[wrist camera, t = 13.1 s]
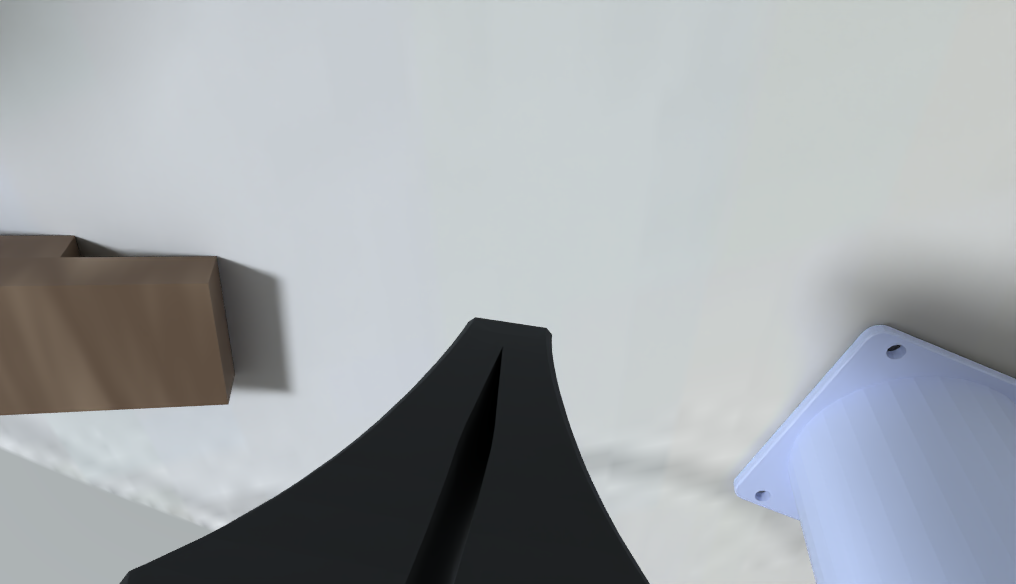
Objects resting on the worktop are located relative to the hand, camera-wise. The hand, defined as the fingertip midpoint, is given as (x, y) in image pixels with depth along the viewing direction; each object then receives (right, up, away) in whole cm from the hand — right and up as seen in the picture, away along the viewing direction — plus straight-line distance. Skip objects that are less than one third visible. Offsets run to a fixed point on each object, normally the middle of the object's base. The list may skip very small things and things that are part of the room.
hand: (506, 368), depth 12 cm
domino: (-10, 0, +11) cm, 15 cm away
